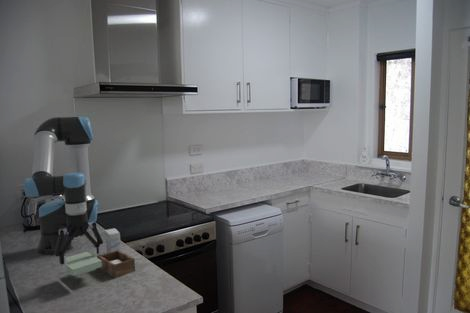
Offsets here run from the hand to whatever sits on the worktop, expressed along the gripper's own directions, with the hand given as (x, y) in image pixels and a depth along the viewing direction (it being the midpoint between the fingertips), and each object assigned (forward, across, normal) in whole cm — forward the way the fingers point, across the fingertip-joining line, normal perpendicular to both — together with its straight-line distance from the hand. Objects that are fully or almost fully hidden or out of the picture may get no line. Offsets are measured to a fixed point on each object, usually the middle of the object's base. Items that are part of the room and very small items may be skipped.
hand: (80, 266), depth 142 cm
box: (+6, +14, -2) cm, 15 cm away
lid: (+1, 0, 0) cm, 1 cm away
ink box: (+6, +21, +15) cm, 27 cm away
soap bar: (+5, +14, -2) cm, 15 cm away
